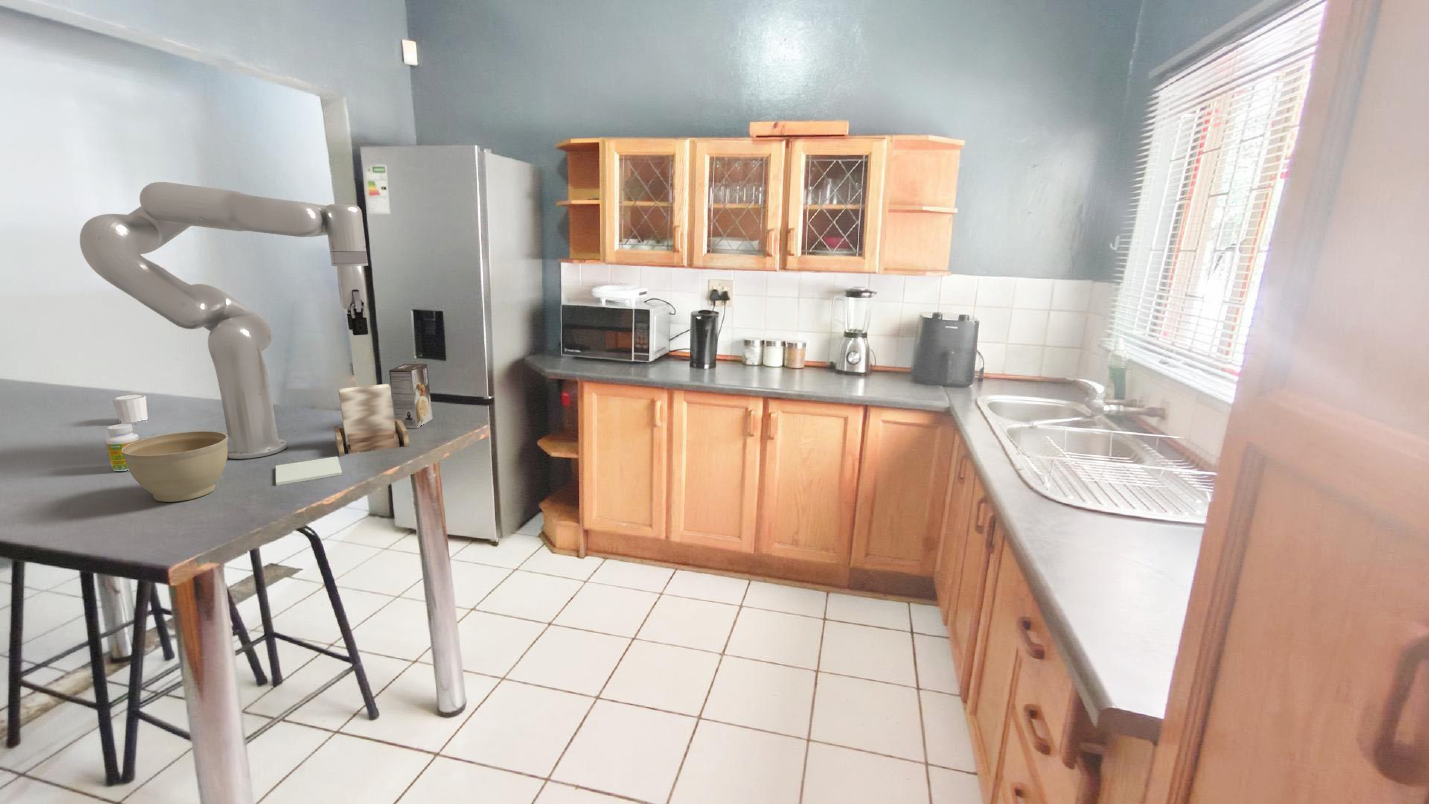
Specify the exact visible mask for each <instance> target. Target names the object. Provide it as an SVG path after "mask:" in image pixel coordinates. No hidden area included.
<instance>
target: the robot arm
mask: <svg viewBox="0 0 1429 804" xmlns="http://www.w3.org/2000/svg"><path fill="white" fill-rule="evenodd" d="M139 204H140V206H139V207H137V208H136V209H134V210H132V212H130V213H128V214H124V213H122V214H121V213H106V214H105V213H104V214H100V215H99V214H98V215H96V216H93V217H92V218H90V219H88V220H87V221H86V222H85V223H84V224H83V226H82V228H81V230H80V234H79V245H80V250H81V253H82V256H83V258H84V259H85V261H86V262H87V263H86V264H88V265H89V266H90V268H91V269H92V270H93V271H94V272H95V273H96V274H97V275H98V276H100V277H101V278H102V279H103V280H105V281H106V282H108V283H109V284H111V285H112V286H114V287H115V288H118V289H119V290H120V291H122V292H124V293H126V294H127V295H128V296H130V297H132V298H133V299H134V300H136V301H137V302H139V303H140V304H142V305H144V306H146V307H147V308H149V309H150V310H151V311H154V312H155V313H156V314H158V315H159V316H161V317H163V319H166V320H168V321H169V322H170V323H172V324H174V325H175V326H177V327H178V328H182V329H185V330H197V329H201V328H204V329H206V330H208V331H209V333H208V337H207V349H208V351H209V355H210V358H211V361H212V363H213V366H214V370H215V373H216V378H217V379H216V380H217V382H218V389H219V394H220V398H221V404H222V405H221V406H222V409H223V416H224V420H225V427H226V431H227V432H226V435H227V437H228V442H227V448H228V455H227V459H230V460H231V459H232V460H244V459H245V460H247V459H254V458H262V457H266V456H271V455H274V454H278V453H279V452H282V451H284V450H286V448H287V447H288V444H287V441H286V440H284V439H281V438H279V437H278V430H277V424H276V418H275V417H276V416H275V411H274V405H273V398H272V392H271V385H270V380H269V374H268V371H267V370H268V369H267V367H266V363H265V360H264V357H263V353H262V352H263V351H264V350H266V349H267V348H268V347H270V345H271V343H272V341H273V338H274V337H273V335H274V334H273V329H272V327H271V326H270V324H269V323H268V322H267V320H266V319H265V318H263V317H262V316H260V315H259V314H258V313H256V312H255V311H253V310H252V309H250V308H249V307H247V306H246V305H244V304H243V303H241V302H239V300H237V299H235V298H233V297H232V296H230V295H229V294H227V293H226V292H224V291H223V290H221V289H219V288H216V287H214V286H212V285H209V284H203V283H194V284H189V283H187V282H185V281H183V280H182V279H180V278H179V277H177V276H175V275H174V274H172V273H171V272H170V271H168V270H167V269H165V268H163V267H162V266H160V265H159V264H156V263H155V262H152V261H151V260H149V259H147V258H145V257H144V256H142V255H145V254H148V253H152V252H154V251H157V250H158V249H160V248H162V247H163V246H164V245H166V244H167V243H169V242H170V241H171V240H173V239H175V238H176V237H178V236H179V235H180V234H182V233H183V232H185V231H186V230H188V229H189V228H190V227H199V228H200V227H201V228H209V229H216V230H217V229H218V230H225V231H226V230H227V231H235V232H254V233H261V234H262V233H264V234H271V235H277V236H278V235H282V236H288V237H295V238H296V237H297V238H307V237H308V238H312V237H321V236H327V242H328V247H329V255H330V263H331V267H336V274H337V285H338V293H339V303H340V307H341V308H343V309H344V310H346V312H347V313H346V317H347V325H348V330H350V331H352V335H353V336H367V335H369V326H368V320H367V319H368V318H367V317H366V312H365V309H366V308H367V294H366V292H367V291H366V282H365V274H364V267H365V266H366V267H367V266H369V261H368V255H367V246H366V244H367V243H366V238H365V228H364V221H363V220H364V219H363V212H362V209H361V208H360V207H359V205H356V204H355V205H354V204H346V203H344V204H343V203H341V204H340V203H331V204H327V205H325V204H317V203H316V204H315V203H311V202H305V201H298V200H288V199H280V198H272V197H267V196H265V197H264V196H259V195H258V196H257V195H252V194H245V193H242V192H240V191H236V190H231V189H222V188H215V187H208V186H207V187H206V186H197V185H189V184H183V183H176V182H175V183H174V182H167V181H156V182H151V183H148V184H147V185H145V186H144V187H143V188H142V189H141V191H140V193H139Z"/></svg>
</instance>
